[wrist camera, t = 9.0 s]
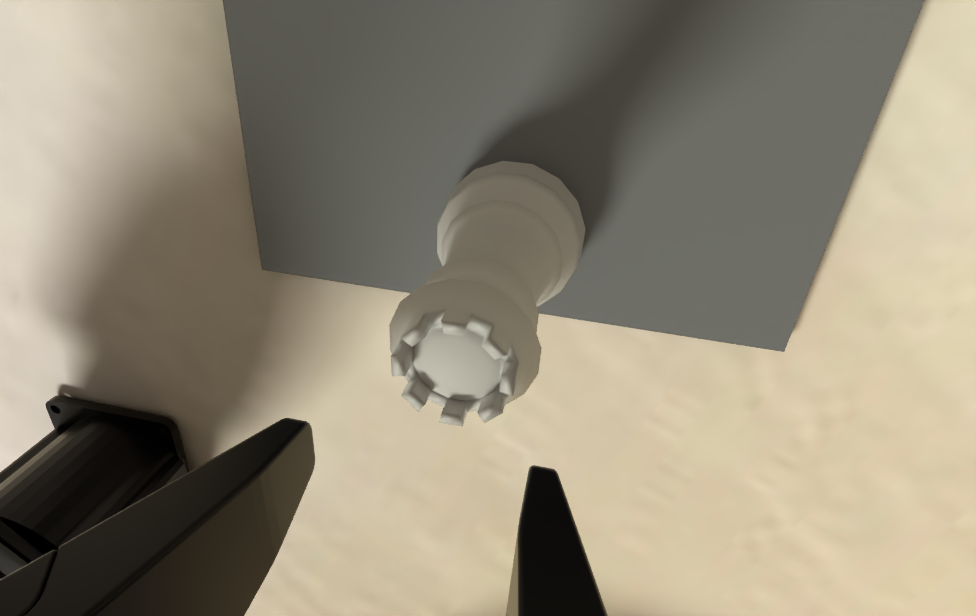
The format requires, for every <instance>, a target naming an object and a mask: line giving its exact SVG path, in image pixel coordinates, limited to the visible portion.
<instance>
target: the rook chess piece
mask: <svg viewBox="0 0 976 616" xmlns="http://www.w3.org/2000/svg"><path fill="white" fill-rule="evenodd" d="M584 235H585V225H584V222H583V218H582V215H581V211H580V207H579V204H578V201H577V200H576V199H575V197H574V196H573V195H572V194H571V192H570V191H569V190H568V189H567V187H566V186H565V185H564V184H563V183H562V181H561V180H560V179H559V178H557V177H556V176H554V175H552V174H550V173H548V172H546V171H545V170H543V169H541V168H539V167H537V166H535V165H534V164H528V163H519V162H510V161H500V162H497V163H494V164H490V165H487V166H484V167H480V168H477V169H475V170H473V171H472V172H471V173H470V174H469V175H468V176H466V177H465V178H464V179H463V180H462V181H461V182H459V183H458V184H457V185H456V186H455V187H454V188H453V191H452V193H451V195H450V197H449V198H448V200H447V203H446V205H445V207H444V209H443V211H442V213H441V216H440V218H439V220H438V227H437V254H438V256H439V259H440V261H441V264H442V267H441V268H440V269H439V270H437V271H436V272H435V273H433V274H432V275H431V276H430V277H429V278H428V281H427V283H426V285H422V286H420V287H419V288H418V289H416V290H415V291H414V292H412V293H411V294H410V295H409V296H407V297H406V298H405V299H403V300H402V301H401V302H400V303H399V306H398V308H397V310H396V312H395V314H394V316H393V318H392V321H391V323H390V350H391V352H392V355H391V364H392V376H404V377H405V378H406V380H407V381H408V384H407V386H406V388H405V390H404V391H403V393H402V395H401V396H402V397H404V398H405V399H406V400H407V401H408V402H409V403H410V404H411V405H412V406H413V407H414V408H415V409H416V410H417V411H419V410H420V409H421V408H422V407H423V406H424V405H425V404H426V401H427V399H428V400H430V401H432V402H433V403H435V404H437V405H439V406H441V407H443V411H442V414H441V418H440V421H439V422H441V423H446V424H452V425H458V426H463V423H464V420H465V417H466V414H467V412H471V411H478V412H477V413H478V414H479V416H480V417H481V419H482V420H483V422H484V423H486V422H487V421H489V420H491V419H493V418H494V417H496V416H498V415H500V414H501V413H503V409H504V405H506V404H508V403H509V402H511V401H513V400H514V399H516V398H518V397H520V396H521V395H523V394H524V393H525V392H526V390H527V389H528V387H529V386H530V385H531V383H532V382H533V380H534V379H535V377H536V376H537V374H538V370H539V362H540V354H541V346H540V343H539V340H538V337H537V334H536V331H537V323H538V314H539V312H538V309H537V307H538V306H540V305H541V304H543V303H544V302H546V301H547V300H549V299H550V298H552V297H553V296H555V295H556V294H558V293H559V292H560V291H561V290H562V289H563V288H564V287H565V285H566V284H567V282H568V281H569V279H570V278H571V276H572V275H573V273H574V271H575V270H576V268H577V267H578V261H579V258H580V257H581V255H582V248H583V242H584Z"/></svg>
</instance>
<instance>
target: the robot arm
mask: <svg viewBox="0 0 976 616" xmlns="http://www.w3.org/2000/svg"><path fill="white" fill-rule="evenodd" d="M46 408H47V411H48V413H49V416H50V418H51V421H52V423H53V425H54V428H55V429H54V430H53V431H52V432H51V433H49V434H48V435H47V436H46V437H44V438H43V439H42V440H41V441H39V442H38V443H37V444H36V445H34V446H33V447H32V448H31V449H29V450H28V451H27V452H26V453H24V454H23V455H22V456H21V457H19V458H18V459H17V460H16V461H14V462H13V463H12V464H10V465H9V466H8V467H7V468H5V469H4V470H3V471H2V472H0V616H244V615H245V613H246V611H247V609H248V608H249V606H250V604H251V602H252V601H253V599H254V597H255V595H256V593H257V592H258V590H259V588H260V586H261V584H262V583H263V581H264V579H265V577H266V575H267V574H268V572H269V570H270V568H271V566H272V564H273V562H274V560H275V558H276V556H277V554H278V552H279V550H280V547H281V545H282V543H283V541H284V538H285V536H286V534H287V531H288V529H289V527H290V524H291V522H292V520H293V517H294V515H295V513H296V510H297V508H298V506H299V503H300V501H301V499H302V496H303V494H304V491H305V489H306V487H307V484H308V482H309V480H310V477H311V475H312V473H313V469H314V465H315V453H314V444H313V436H312V429H311V426H310V424H309V423H308V422H306V421H302V420H296V419H291V418H285V419H282V420H280V421H278V422H276V423H274V424H273V425H271V426H269V427H267V428H266V429H264V430H262V431H260V432H259V433H257V434H255V435H253V436H252V437H250V438H248V439H246V440H245V441H243V442H241V443H239V444H238V445H236V446H234V447H232V448H231V449H229V450H227V451H225V452H224V453H222V454H220V455H218V456H217V457H215V458H213V459H211V460H210V461H208V462H206V463H204V464H203V465H201V466H199V467H197V468H196V469H194V470H192V471H190V472H189V469H188V465H187V462H186V458H185V454H184V451H183V447H182V443H181V440H180V436H179V432H178V428H177V426H176V424H175V423H174V422H173V421H172V420H171V419H169V418H167V417H163V416H158V415H153V414H148V413H143V412H138V411H133V410H128V409H123V408H118V407H112V406H107V405H102V404H97V403H92V402H87V401H82V400H77V399H72V398H67V397H62V396H55V397H53V398H52V399H50V400H49V401H48V402H46ZM506 616H608V615H607V612H606V610H605V607H604V604H603V601H602V598H601V595H600V592H599V590H598V587H597V584H596V581H595V578H594V575H593V573H592V570H591V567H590V564H589V561H588V558H587V555H586V553H585V550H584V547H583V544H582V541H581V538H580V535H579V533H578V530H577V527H576V524H575V521H574V518H573V516H572V513H571V510H570V507H569V504H568V501H567V498H566V496H565V493H564V490H563V487H562V484H561V481H560V479H559V476H558V473H557V472H556V471H555V470H554V469H550V468H545V467H540V466H535V465H533V466H531V467H530V468H529V472H528V477H527V483H526V488H525V493H524V498H523V504H522V509H521V514H520V519H519V526H518V533H517V541H516V548H515V555H514V562H513V569H512V576H511V583H510V590H509V598H508V605H507V612H506Z"/></svg>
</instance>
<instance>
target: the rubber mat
mask: <svg viewBox="0 0 976 616" xmlns="http://www.w3.org/2000/svg"><path fill="white" fill-rule="evenodd" d="M923 2H924V0H223V5H224V11H225V18H226V25H227V32H228V39H229V46H230V53H231V60H232V66H233V73H234V80H235V87H236V94H237V101H238V108H239V115H240V121H241V128H242V135H243V142H244V149H245V156H246V163H247V170H248V177H249V183H250V190H251V197H252V204H253V211H254V218H255V225H256V232H257V238H258V245H259V252H260V259H261V266H262V270H267V271H274V272H280V273H286V274H293V275H299V276H305V277H312V278H318V279H324V280H331V281H337V282H343V283H350V284H356V285H363V286H369V287H375V288H382V289H388V290H394V291H401V292H407V293H412V292H414V291H415V290H416V289H418V288H419V287H420V286H422V285H426V283H427V281H428V278H429V277H430V276H431V275H432V274H433V273H435V272H436V271H437V270H439V269H440V268H441V267H442V264H441V261H440V259H439V256H438V254H437V227H438V220H439V218H440V216H441V213H442V211H443V209H444V207H445V205H446V203H447V200H448V198H449V197H450V195H451V193H452V191H453V188H454V187H455V186H456V185H457V184H458V183H459V182H461V181H462V180H463V179H464V178H465V177H466V176H468V175H469V174H470V173H471V172H472V171H473V170H475V169H477V168H480V167H484V166H487V165H490V164H494V163H497V162H500V161H510V162H519V163H528V164H534V165H535V166H537V167H539V168H541V169H543V170H545V171H546V172H548V173H550V174H552V175H554V176H556V177H557V178H559V179H560V180H561V181H562V183H563V184H564V185H565V186H566V187H567V189H568V190H569V191H570V192H571V194H572V195H573V196H574V197H575V199H576V200H577V201H578V204H579V207H580V211H581V215H582V218H583V222H584V225H585V235H584V242H583V248H582V255H581V257H580V258H579V261H578V267H577V268H576V270H575V271H574V273H573V275H572V276H571V278H570V279H569V281H568V282H567V284H566V285H565V287H564V288H563V289H562V290H561V291H560V292H559V293H558V294H556V295H555V296H553V297H552V298H550V299H549V300H547V301H546V302H544V303H543V304H541V305H540V306H538V307H537V309H538V312H539V313H540V314H547V315H553V316H560V317H566V318H572V319H579V320H585V321H591V322H598V323H604V324H610V325H617V326H623V327H629V328H636V329H642V330H649V331H655V332H661V333H668V334H674V335H680V336H687V337H693V338H699V339H706V340H712V341H718V342H725V343H731V344H738V345H744V346H750V347H757V348H763V349H769V350H776V351H782V352H784V351H785V348H786V346H787V343H788V341H789V338H790V336H791V333H792V331H793V328H794V326H795V323H796V321H797V318H798V316H799V313H800V311H801V308H802V306H803V303H804V301H805V298H806V296H807V293H808V290H809V288H810V285H811V283H812V280H813V278H814V275H815V273H816V270H817V268H818V265H819V263H820V260H821V258H822V255H823V253H824V250H825V248H826V245H827V243H828V240H829V238H830V235H831V233H832V230H833V228H834V225H835V223H836V220H837V218H838V215H839V213H840V210H841V208H842V205H843V203H844V200H845V198H846V195H847V193H848V190H849V188H850V185H851V183H852V180H853V178H854V175H855V173H856V170H857V168H858V165H859V162H860V160H861V157H862V155H863V152H864V150H865V147H866V145H867V142H868V140H869V137H870V135H871V132H872V130H873V127H874V125H875V122H876V120H877V117H878V115H879V112H880V110H881V107H882V105H883V102H884V100H885V97H886V95H887V92H888V90H889V87H890V85H891V82H892V80H893V77H894V75H895V72H896V70H897V67H898V65H899V62H900V60H901V57H902V55H903V52H904V50H905V47H906V45H907V42H908V39H909V37H910V34H911V32H912V29H913V27H914V24H915V22H916V19H917V17H918V14H919V12H920V9H921V7H922V4H923Z"/></svg>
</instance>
